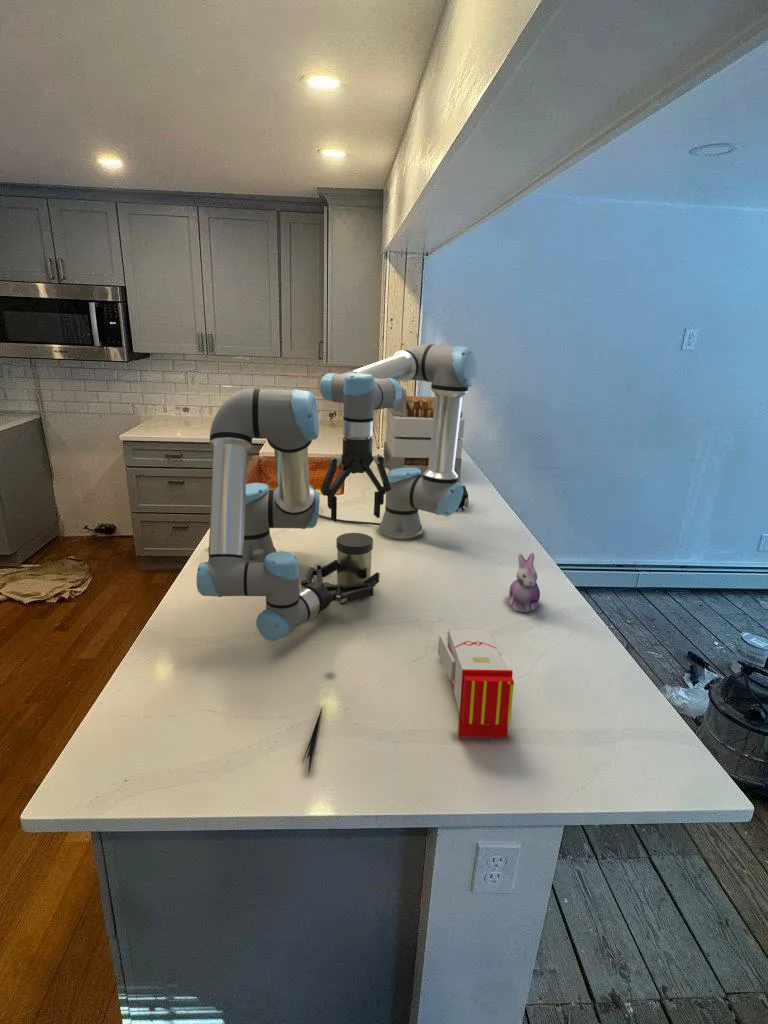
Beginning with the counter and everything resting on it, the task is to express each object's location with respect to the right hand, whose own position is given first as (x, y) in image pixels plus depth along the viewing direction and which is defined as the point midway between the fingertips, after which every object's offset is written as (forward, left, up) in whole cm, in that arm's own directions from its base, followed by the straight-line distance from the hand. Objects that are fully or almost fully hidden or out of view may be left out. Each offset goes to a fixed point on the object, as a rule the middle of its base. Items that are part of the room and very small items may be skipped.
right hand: (355, 517), depth 150 cm
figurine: (+33, +33, -22) cm, 52 cm away
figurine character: (-33, +79, -22) cm, 88 cm away
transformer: (-78, +100, -22) cm, 129 cm away
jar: (0, 0, -22) cm, 22 cm away
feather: (+37, -37, -22) cm, 57 cm away
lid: (0, 0, -6) cm, 6 cm away
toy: (+49, -7, -22) cm, 54 cm away
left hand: (0, +1, -16) cm, 16 cm away
